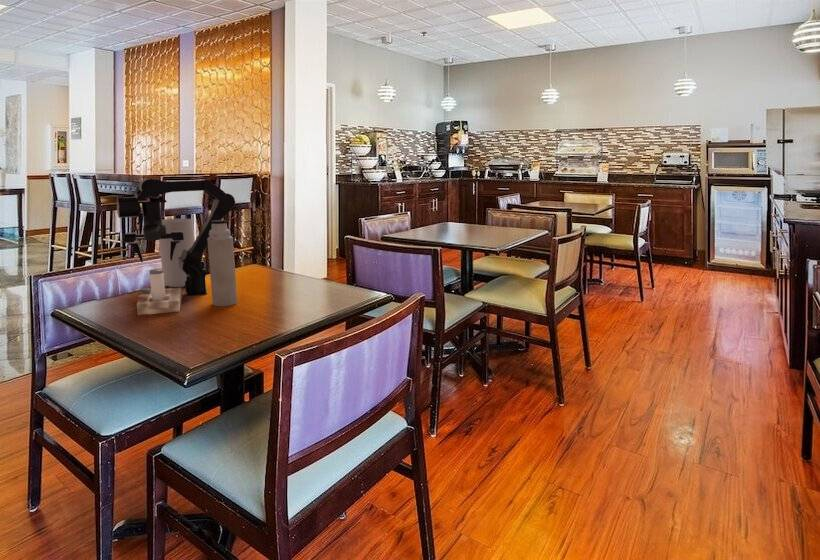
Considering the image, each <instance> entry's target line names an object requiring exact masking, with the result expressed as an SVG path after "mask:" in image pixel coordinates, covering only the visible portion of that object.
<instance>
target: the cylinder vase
mask: <svg viewBox="0 0 820 560" xmlns="http://www.w3.org/2000/svg"><path fill="white" fill-rule="evenodd" d="M162 225H166V233H171V231H183V232H184V240H180V243H177V244H176V246H175V249H174V253H173V258H172V261H171V260H170V248H171V240H172V239H171V238H170V239H160V240H158V242H159V251H160V261H161V263H160V264H161V269H163V275H164V285H165V287H167V286H169V287H168V288H185V287H184V286H185V280H187V279H186V277H187V276H188V275H186V273H185V272H184V271H182V270H181V269H180V268H179V264H178V263H179V259H178V258H179V257H180V256H181V255H182V252H183V250H184V249H185V250H187V251H188V250H189V249H190V248H191V247H192V246H193V244H194V242H195V240H196V239H195V228H194V220H193V219H192V218H166V219H162Z"/></svg>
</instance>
